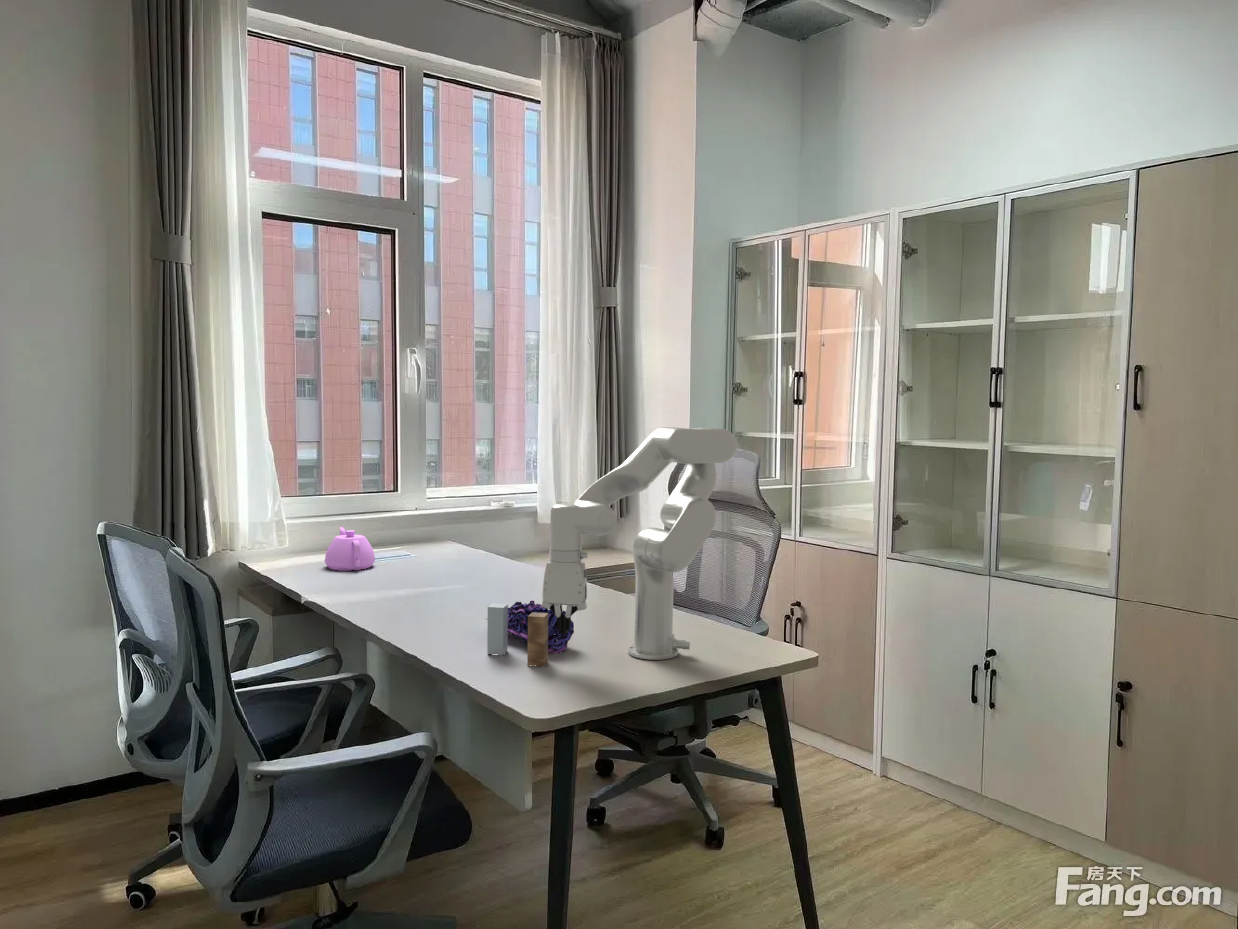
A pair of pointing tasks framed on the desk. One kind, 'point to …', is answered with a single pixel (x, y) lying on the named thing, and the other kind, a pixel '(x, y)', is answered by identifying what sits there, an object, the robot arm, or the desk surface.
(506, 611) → the grey block
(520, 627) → the decorative ornament
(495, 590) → the desk surface
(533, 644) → the walnut block
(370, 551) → the teapot
